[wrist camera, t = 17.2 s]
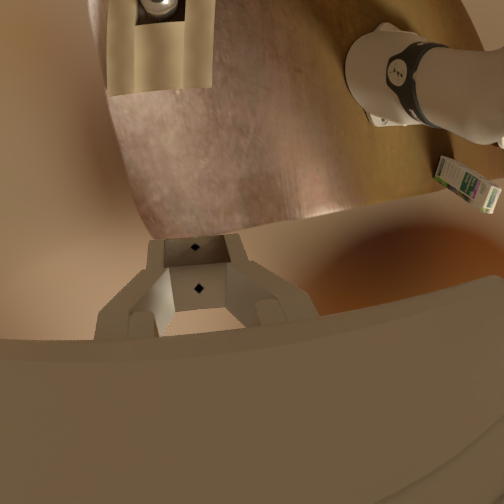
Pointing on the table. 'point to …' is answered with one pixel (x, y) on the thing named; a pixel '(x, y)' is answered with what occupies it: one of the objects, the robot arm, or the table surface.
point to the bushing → (160, 9)
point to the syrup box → (467, 184)
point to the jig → (158, 49)
